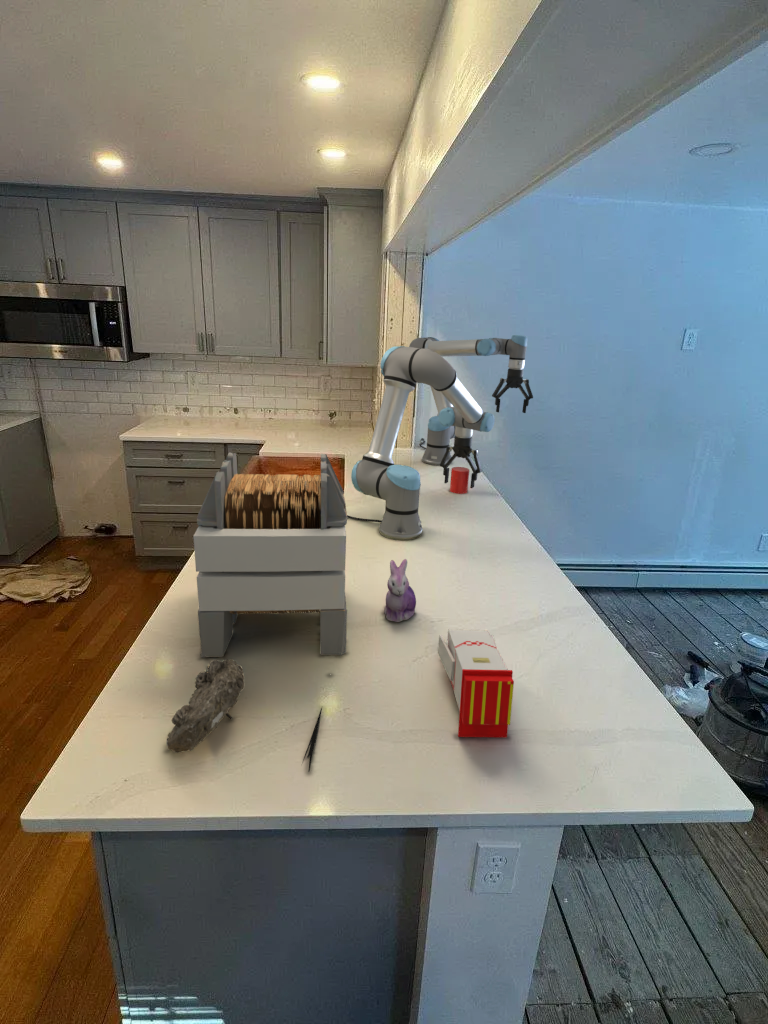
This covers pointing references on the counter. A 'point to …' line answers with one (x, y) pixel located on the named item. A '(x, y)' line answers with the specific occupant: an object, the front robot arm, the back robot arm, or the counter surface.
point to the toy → (478, 682)
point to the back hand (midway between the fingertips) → (510, 412)
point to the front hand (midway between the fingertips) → (459, 485)
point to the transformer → (271, 552)
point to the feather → (313, 740)
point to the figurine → (399, 594)
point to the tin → (459, 480)
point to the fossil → (206, 705)
